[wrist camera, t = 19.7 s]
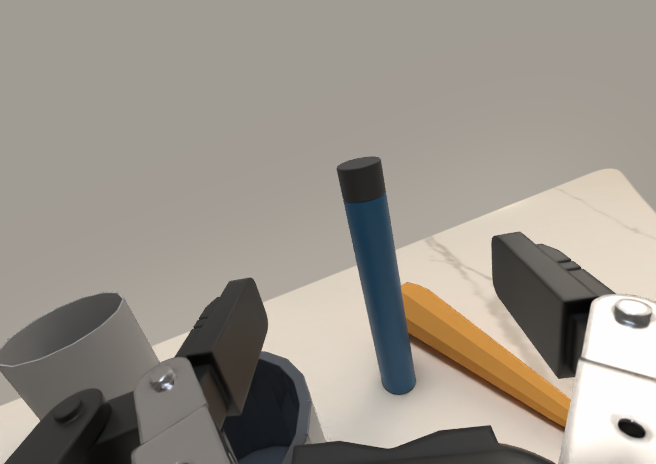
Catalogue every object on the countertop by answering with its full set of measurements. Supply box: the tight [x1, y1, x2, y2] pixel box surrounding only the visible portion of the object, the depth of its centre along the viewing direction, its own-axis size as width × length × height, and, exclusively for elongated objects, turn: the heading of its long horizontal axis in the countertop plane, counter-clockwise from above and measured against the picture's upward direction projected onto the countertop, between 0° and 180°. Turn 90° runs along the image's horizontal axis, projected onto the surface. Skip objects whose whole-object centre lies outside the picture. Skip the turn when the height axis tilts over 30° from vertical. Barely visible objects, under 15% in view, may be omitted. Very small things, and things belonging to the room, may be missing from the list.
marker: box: [337, 157, 416, 394], centre depth 23 cm, size 3×3×18 cm
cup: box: [0, 292, 160, 421], centre depth 27 cm, size 8×8×10 cm
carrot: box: [401, 282, 571, 427], centre depth 24 cm, size 20×4×4 cm, turn 31°
